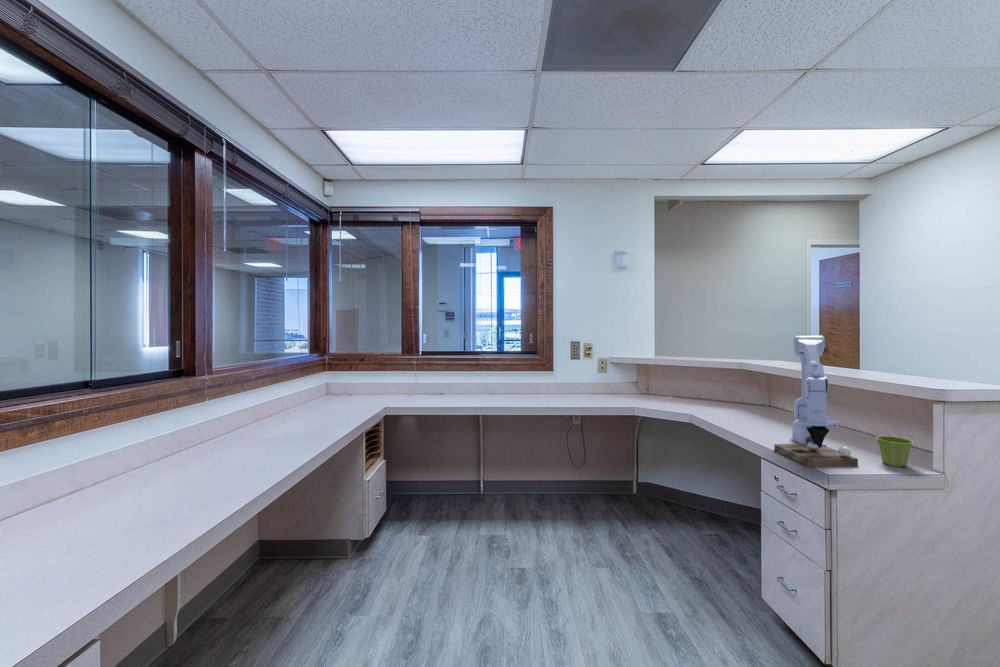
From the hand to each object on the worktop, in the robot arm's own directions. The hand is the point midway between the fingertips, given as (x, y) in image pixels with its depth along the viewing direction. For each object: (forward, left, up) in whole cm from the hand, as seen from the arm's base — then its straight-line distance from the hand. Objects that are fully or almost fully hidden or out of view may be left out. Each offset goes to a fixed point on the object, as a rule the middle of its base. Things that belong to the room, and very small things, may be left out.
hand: (817, 447), depth 151 cm
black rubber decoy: (-7, +3, 0) cm, 8 cm away
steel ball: (0, -1, 0) cm, 1 cm away
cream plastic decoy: (+6, +5, 0) cm, 8 cm away
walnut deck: (-1, -1, -4) cm, 4 cm away
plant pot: (+7, +21, -4) cm, 23 cm away
